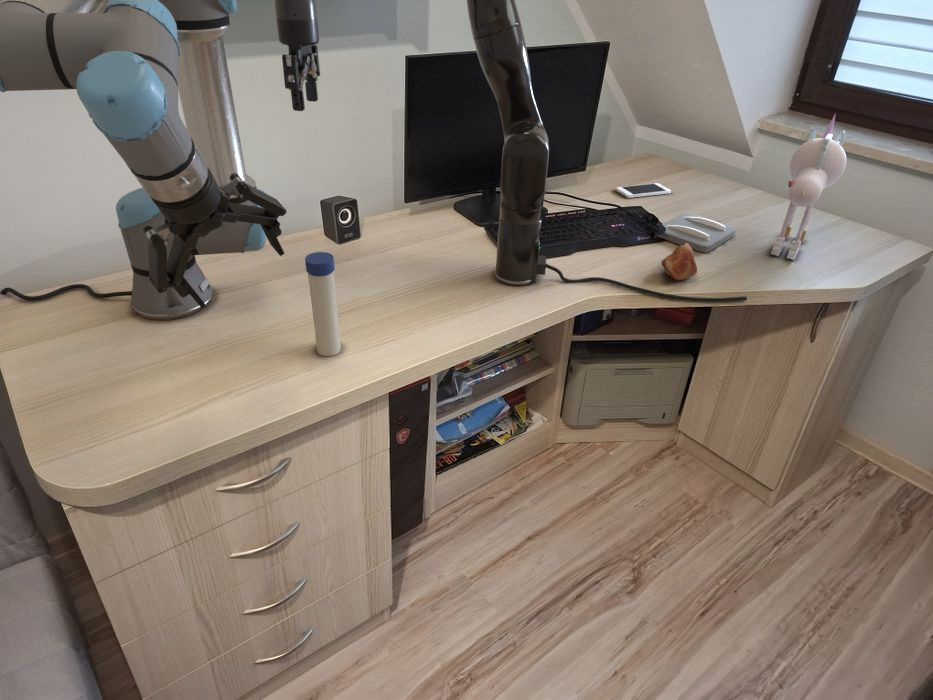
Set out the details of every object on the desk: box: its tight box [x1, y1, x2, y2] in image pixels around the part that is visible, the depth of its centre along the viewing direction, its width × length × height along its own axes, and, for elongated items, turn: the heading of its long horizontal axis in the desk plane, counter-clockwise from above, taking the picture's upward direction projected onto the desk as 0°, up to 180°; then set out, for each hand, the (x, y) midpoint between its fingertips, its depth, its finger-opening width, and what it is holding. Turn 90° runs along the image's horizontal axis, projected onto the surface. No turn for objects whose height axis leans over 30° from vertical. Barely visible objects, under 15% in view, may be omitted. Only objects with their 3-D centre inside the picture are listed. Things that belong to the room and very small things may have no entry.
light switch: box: [654, 212, 737, 253], centre depth 167 cm, size 18×3×15 cm
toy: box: [770, 112, 847, 261], centre depth 159 cm, size 12×36×30 cm, turn 148°
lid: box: [304, 251, 336, 276], centre depth 108 cm, size 5×5×2 cm
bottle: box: [307, 270, 342, 357], centre depth 113 cm, size 4×4×18 cm
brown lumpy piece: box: [660, 243, 698, 281], centre depth 146 cm, size 13×8×10 cm
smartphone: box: [615, 182, 672, 199], centre depth 194 cm, size 7×16×1 cm, turn 111°
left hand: (239, 274), depth 94 cm, fingers open, 13 cm apart
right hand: (306, 105), depth 129 cm, fingers open, 8 cm apart
